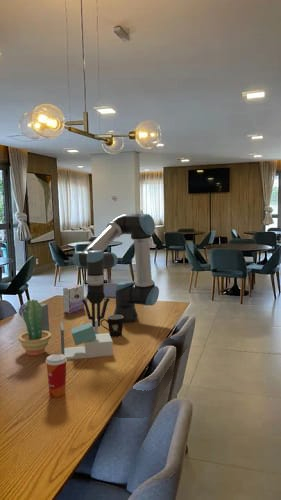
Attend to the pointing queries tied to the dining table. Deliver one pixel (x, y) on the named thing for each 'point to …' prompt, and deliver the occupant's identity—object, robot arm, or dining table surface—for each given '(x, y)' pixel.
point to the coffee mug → (114, 325)
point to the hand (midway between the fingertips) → (96, 333)
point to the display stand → (88, 347)
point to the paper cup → (56, 374)
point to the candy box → (73, 298)
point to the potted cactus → (33, 329)
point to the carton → (83, 333)
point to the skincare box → (45, 318)
